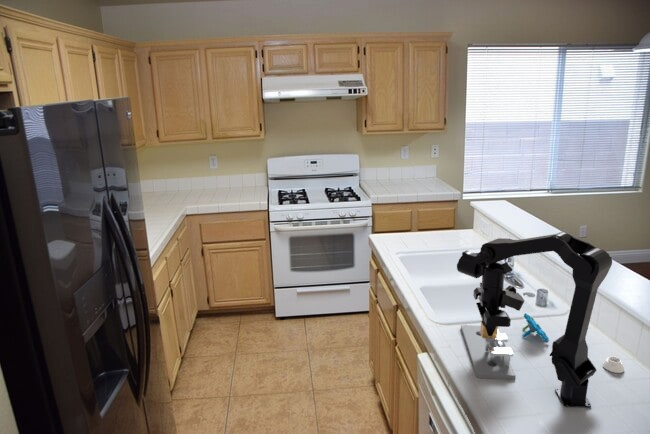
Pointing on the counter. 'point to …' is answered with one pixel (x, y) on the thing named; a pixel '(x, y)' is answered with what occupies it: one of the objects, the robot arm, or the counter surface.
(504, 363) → the divider frame
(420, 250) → the counter surface
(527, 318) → the gear
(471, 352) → the bolt plate
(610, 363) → the white jar
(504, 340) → the sliding leg
